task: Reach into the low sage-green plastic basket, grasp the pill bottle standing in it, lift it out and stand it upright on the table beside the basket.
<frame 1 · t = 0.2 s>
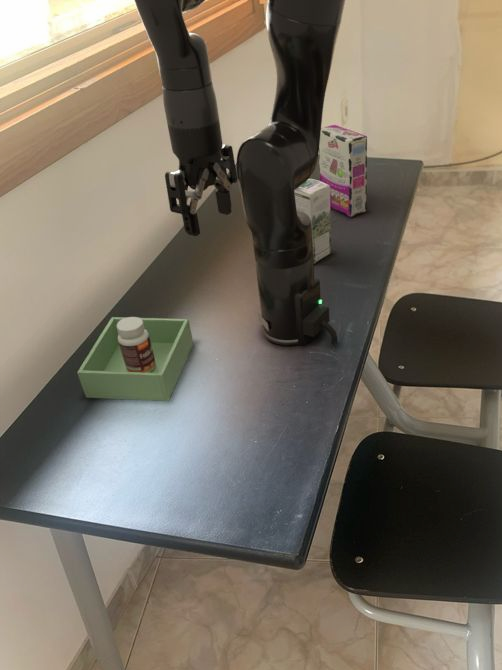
hand: (209, 223, 107), 17 cm above the table, tool pointing down, fingers open, 8 cm apart
candy bar box: (343, 208, 150), on the table
basket: (142, 369, 107), on the table
pill bottle: (142, 368, 107), resting on basket
syrup box: (312, 256, 133), on the table
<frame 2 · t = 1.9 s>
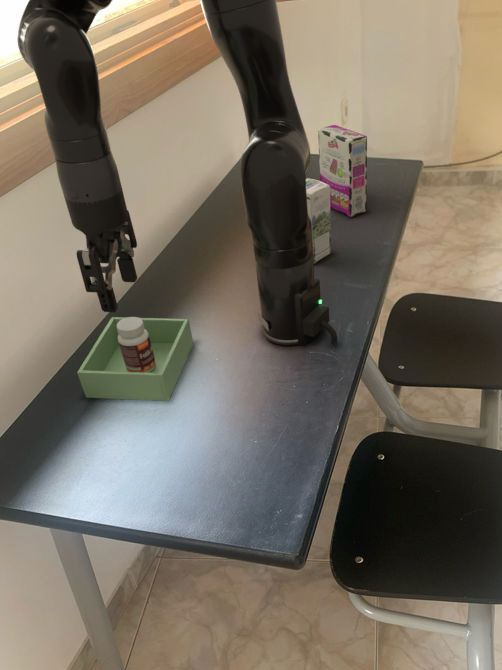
hand: (120, 295, 98), 14 cm above the table, tool pointing down, fingers open, 8 cm apart
nothing on the table moved.
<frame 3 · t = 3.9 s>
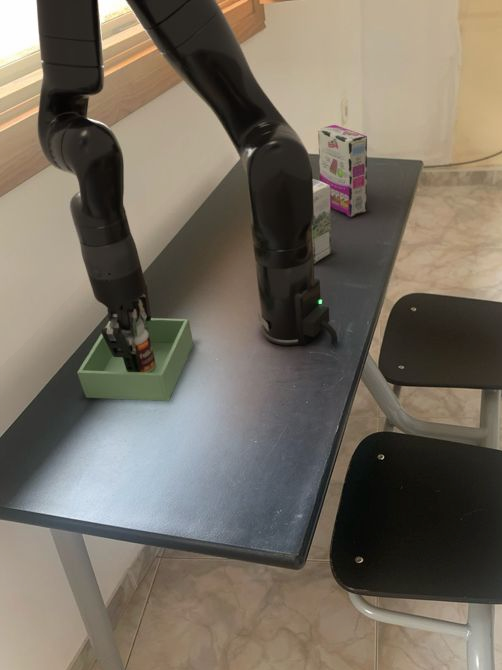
hand: (139, 360, 106), 2 cm above the table, tool pointing down, fingers closed on pill bottle, 4 cm apart
pill bottle: (142, 368, 107), resting on basket, touching gripper
everything else where it was.
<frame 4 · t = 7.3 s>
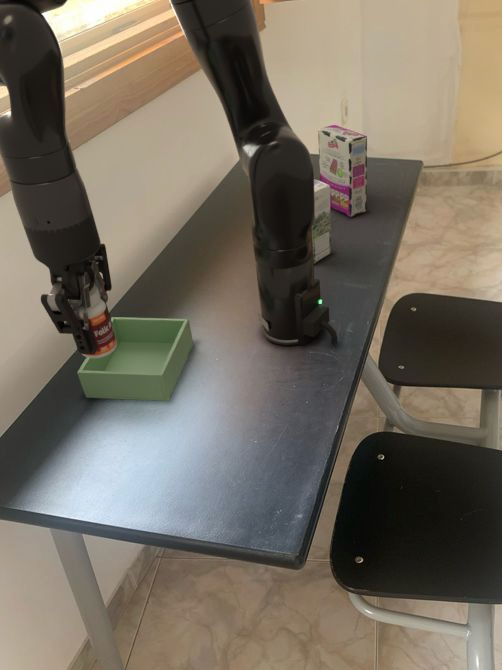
hand: (96, 339, 84), 16 cm above the table, tool pointing down, fingers closed on pill bottle, 4 cm apart
pill bottle: (99, 349, 85), point 15 cm above the table, touching gripper
everything else where it was.
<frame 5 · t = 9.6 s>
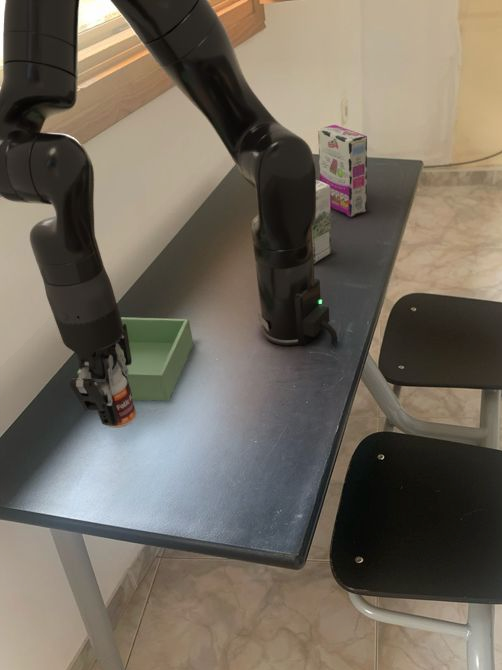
hand: (118, 410, 92), 5 cm above the table, tool pointing down, fingers closed on pill bottle, 4 cm apart
pill bottle: (120, 418, 93), point 3 cm above the table, touching gripper
everything else where it was.
when the fingers open (1 cm above the table, at t = 11.0 s): pill bottle stays where it is, on the table.
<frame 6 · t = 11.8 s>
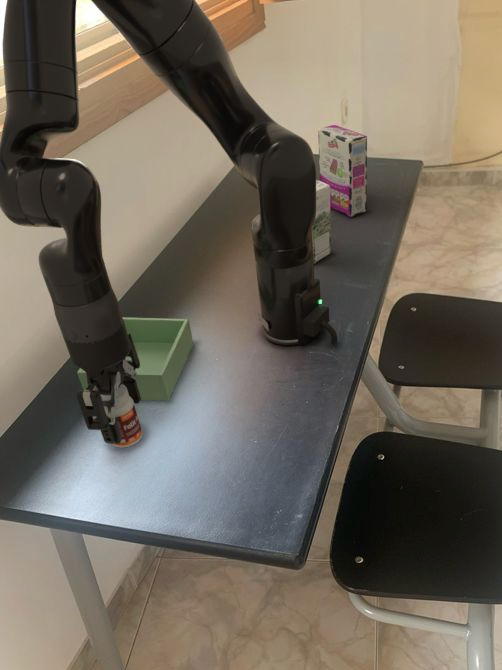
hand: (124, 421, 92), 3 cm above the table, tool pointing down, fingers open, 8 cm apart
pill bottle: (127, 438, 95), on the table
everything else where it was.
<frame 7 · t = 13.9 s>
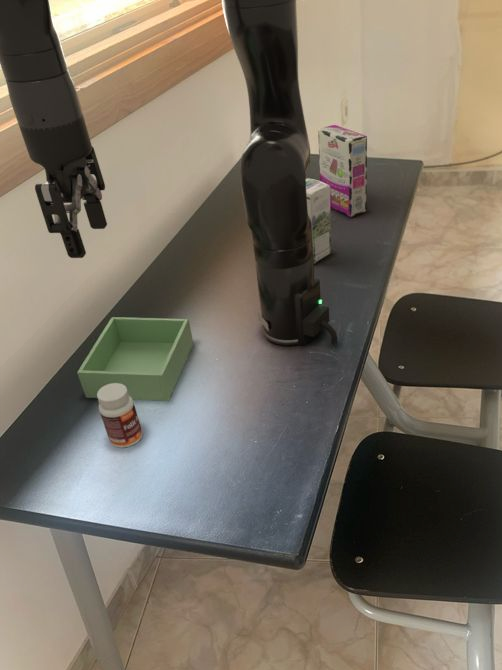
hand: (89, 241, 90), 23 cm above the table, tool pointing down, fingers open, 8 cm apart
nothing on the table moved.
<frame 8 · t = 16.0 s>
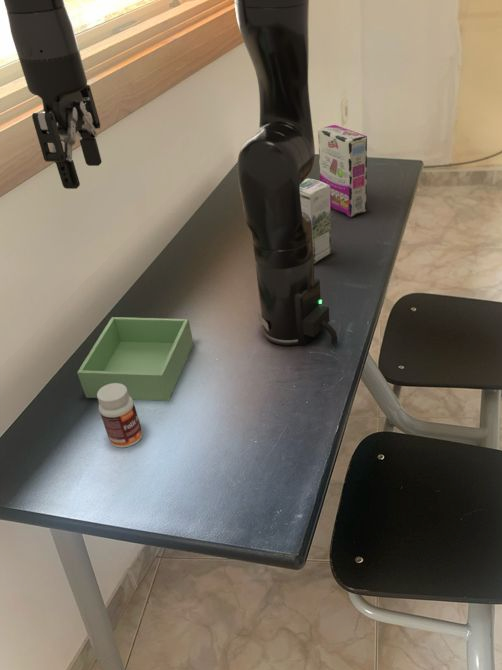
hand: (83, 175, 95), 28 cm above the table, tool pointing down, fingers open, 8 cm apart
nothing on the table moved.
at the end: pill bottle inside the target area (0.2 cm from its centre), on the table; pill bottle tilted 0°; the gripper is holding nothing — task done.
